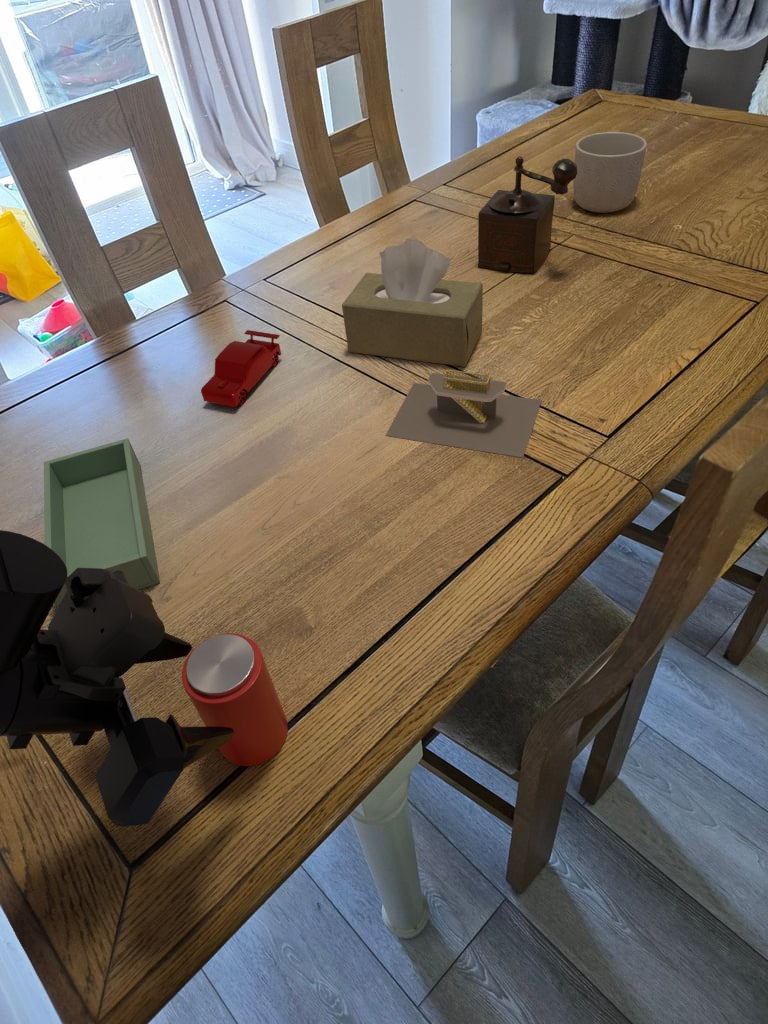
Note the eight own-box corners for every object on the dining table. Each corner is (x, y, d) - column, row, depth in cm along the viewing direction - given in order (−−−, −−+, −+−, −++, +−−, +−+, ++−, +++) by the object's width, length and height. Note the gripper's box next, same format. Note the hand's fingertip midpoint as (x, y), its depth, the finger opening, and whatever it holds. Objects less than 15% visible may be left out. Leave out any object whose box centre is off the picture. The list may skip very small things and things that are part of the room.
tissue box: (484, 332, 106) (485, 229, 94) (467, 368, 99) (466, 262, 88) (369, 319, 111) (357, 220, 100) (346, 352, 105) (331, 251, 94)
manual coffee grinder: (474, 269, 120) (474, 158, 107) (495, 241, 126) (498, 134, 114) (563, 281, 114) (575, 166, 101) (580, 251, 121) (593, 139, 108)
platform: (523, 457, 85) (526, 415, 80) (385, 435, 90) (380, 394, 86) (541, 400, 93) (545, 358, 88) (413, 382, 98) (411, 342, 93)
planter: (648, 211, 130) (659, 148, 122) (585, 222, 128) (593, 160, 121) (618, 187, 138) (627, 127, 130) (559, 198, 137) (565, 138, 129)
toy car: (253, 352, 107) (246, 324, 104) (285, 358, 105) (278, 329, 102) (204, 406, 99) (194, 377, 95) (237, 412, 97) (229, 383, 93)
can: (224, 777, 60) (185, 711, 52) (212, 714, 64) (174, 644, 56) (295, 750, 61) (268, 681, 53) (278, 690, 65) (251, 618, 57)
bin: (63, 614, 74) (45, 587, 71) (59, 488, 89) (43, 461, 85) (160, 583, 76) (146, 555, 73) (140, 465, 91) (128, 437, 87)
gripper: (92, 710, 36) (313, 705, 48) (23, 506, 48) (213, 541, 59) (11, 849, 39) (236, 814, 51) (-35, 626, 51) (156, 638, 62)
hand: (209, 690), depth 56 cm, fingers open, 9 cm apart
